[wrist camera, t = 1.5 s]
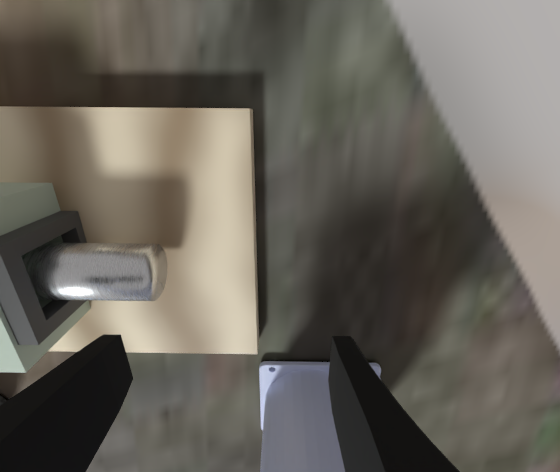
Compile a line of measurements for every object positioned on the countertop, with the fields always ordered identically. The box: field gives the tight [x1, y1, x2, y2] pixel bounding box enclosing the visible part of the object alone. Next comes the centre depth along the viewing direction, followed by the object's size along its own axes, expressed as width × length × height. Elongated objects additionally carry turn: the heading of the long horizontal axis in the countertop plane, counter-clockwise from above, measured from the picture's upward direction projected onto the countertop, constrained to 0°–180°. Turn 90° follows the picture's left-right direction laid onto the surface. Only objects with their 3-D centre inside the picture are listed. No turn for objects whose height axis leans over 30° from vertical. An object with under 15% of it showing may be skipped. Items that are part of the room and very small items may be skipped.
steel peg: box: [21, 243, 167, 301], centre depth 15 cm, size 9×3×3 cm, turn 90°
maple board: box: [0, 106, 259, 354], centre depth 18 cm, size 22×16×2 cm
